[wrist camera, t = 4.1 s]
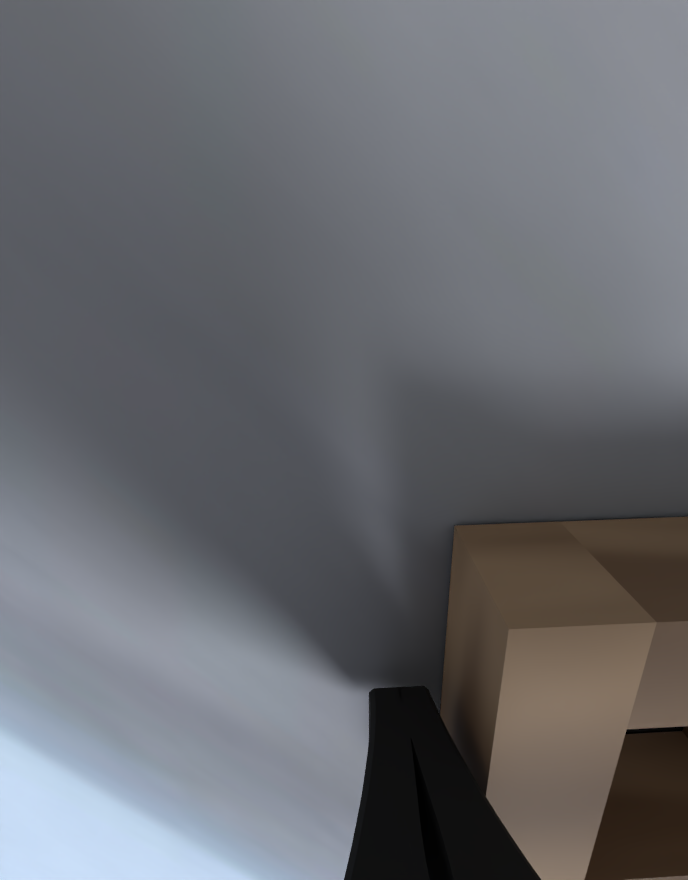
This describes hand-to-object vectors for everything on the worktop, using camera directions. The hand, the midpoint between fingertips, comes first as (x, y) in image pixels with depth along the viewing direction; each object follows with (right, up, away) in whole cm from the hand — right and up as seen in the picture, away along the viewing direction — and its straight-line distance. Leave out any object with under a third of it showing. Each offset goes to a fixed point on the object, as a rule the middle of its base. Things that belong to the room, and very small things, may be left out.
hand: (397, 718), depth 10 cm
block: (+6, +1, +1) cm, 6 cm away
